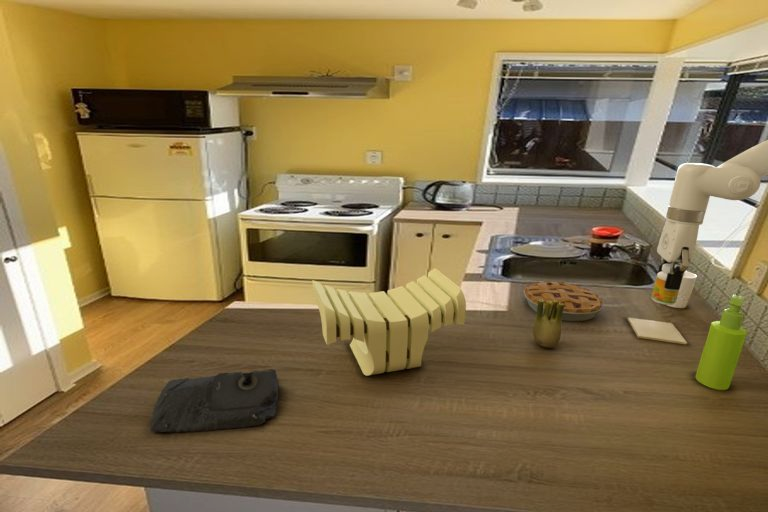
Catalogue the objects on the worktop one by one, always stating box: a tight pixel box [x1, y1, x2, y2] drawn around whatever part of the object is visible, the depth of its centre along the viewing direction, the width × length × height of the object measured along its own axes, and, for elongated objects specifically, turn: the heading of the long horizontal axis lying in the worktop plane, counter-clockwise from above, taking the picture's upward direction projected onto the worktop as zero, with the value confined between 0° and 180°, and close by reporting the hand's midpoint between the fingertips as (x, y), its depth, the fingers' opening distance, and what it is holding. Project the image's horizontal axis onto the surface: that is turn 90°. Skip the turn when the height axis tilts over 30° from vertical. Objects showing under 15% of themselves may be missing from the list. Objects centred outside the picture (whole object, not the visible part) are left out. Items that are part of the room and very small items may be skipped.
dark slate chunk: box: [149, 368, 279, 434], centre depth 80 cm, size 15×22×5 cm
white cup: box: [666, 270, 698, 309], centre depth 129 cm, size 8×8×10 cm
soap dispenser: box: [695, 294, 748, 391], centre depth 88 cm, size 6×7×20 cm
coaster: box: [627, 317, 688, 345], centre depth 113 cm, size 11×11×1 cm
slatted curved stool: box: [311, 267, 467, 377], centre depth 94 cm, size 30×16×18 cm, turn 108°
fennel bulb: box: [533, 300, 565, 349], centre depth 103 cm, size 6×5×12 cm
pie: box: [523, 280, 604, 322], centre depth 125 cm, size 22×22×5 cm
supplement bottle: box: [651, 264, 679, 306], centre depth 109 cm, size 5×5×10 cm
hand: (667, 283), depth 109 cm, fingers closed on supplement bottle, 5 cm apart
